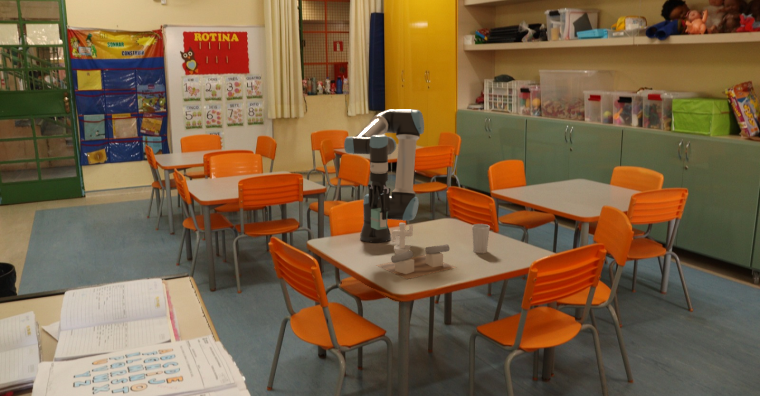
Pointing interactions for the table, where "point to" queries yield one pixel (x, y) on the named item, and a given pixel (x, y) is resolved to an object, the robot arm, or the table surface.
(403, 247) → the figurine
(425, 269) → the brown flat board
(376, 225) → the block
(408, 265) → the shaft
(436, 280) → the table surface
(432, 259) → the shaft
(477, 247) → the cup
